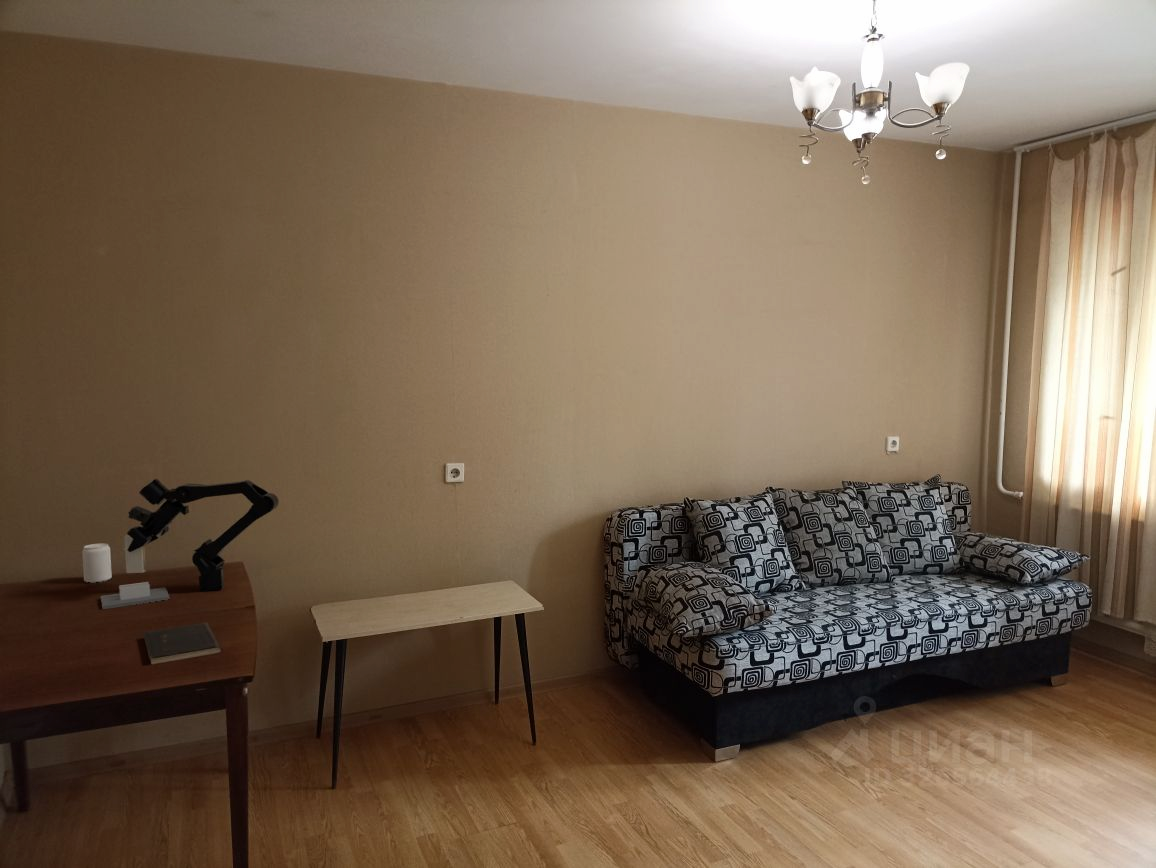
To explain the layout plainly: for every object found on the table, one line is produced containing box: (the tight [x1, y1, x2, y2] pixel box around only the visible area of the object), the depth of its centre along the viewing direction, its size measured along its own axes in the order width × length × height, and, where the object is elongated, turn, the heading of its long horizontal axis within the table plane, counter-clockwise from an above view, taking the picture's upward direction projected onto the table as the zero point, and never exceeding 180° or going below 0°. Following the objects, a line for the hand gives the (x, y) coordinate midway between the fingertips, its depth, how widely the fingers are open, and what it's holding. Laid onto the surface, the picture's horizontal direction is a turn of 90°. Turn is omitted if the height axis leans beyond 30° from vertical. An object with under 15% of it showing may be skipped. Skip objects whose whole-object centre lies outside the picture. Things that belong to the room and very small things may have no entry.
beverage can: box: [81, 542, 113, 584], centre depth 276 cm, size 8×8×12 cm
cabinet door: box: [122, 534, 147, 574], centre depth 261 cm, size 7×2×12 cm, turn 96°
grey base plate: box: [100, 581, 171, 610], centre depth 253 cm, size 18×13×4 cm
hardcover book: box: [142, 622, 222, 665], centre depth 210 cm, size 16×23×2 cm
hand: (130, 550), depth 261 cm, fingers closed on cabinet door, 2 cm apart
